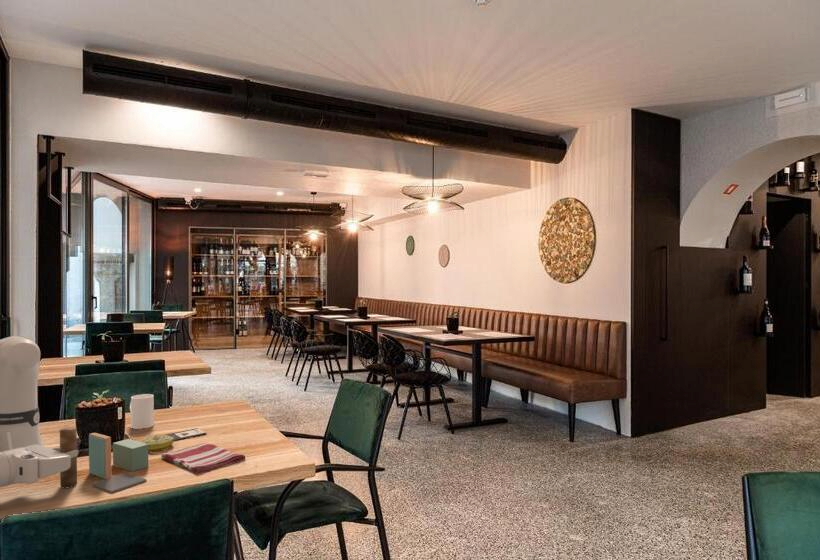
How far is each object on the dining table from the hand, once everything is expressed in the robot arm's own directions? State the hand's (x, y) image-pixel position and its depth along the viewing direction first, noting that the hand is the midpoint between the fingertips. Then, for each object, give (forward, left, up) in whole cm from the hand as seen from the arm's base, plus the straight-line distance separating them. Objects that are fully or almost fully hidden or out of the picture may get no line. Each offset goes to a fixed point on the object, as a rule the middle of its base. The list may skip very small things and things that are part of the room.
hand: (71, 450), depth 152 cm
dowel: (-1, -1, -10) cm, 10 cm away
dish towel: (+32, +15, -10) cm, 37 cm away
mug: (-1, +61, -10) cm, 62 cm away
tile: (+5, +6, -10) cm, 12 cm away
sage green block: (+11, +13, -10) cm, 20 cm away
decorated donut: (+14, +30, -10) cm, 35 cm away
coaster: (+13, -2, -10) cm, 17 cm away
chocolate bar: (+18, +42, -10) cm, 47 cm away
